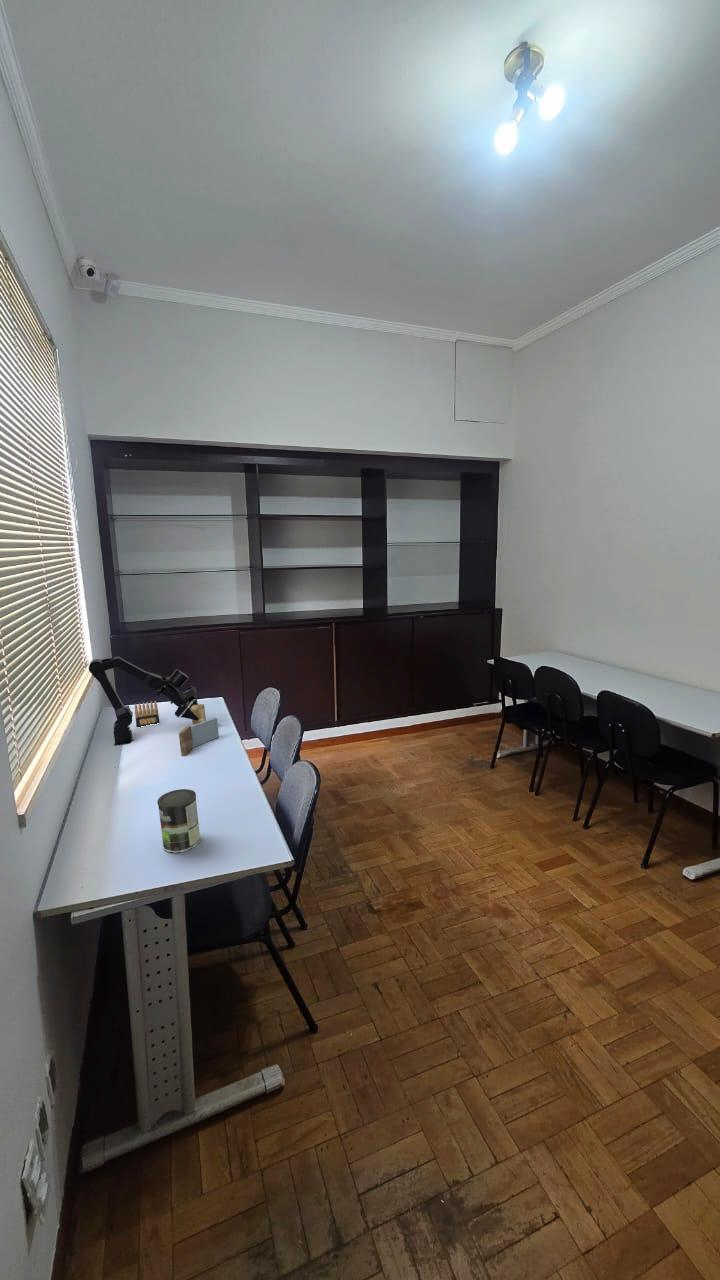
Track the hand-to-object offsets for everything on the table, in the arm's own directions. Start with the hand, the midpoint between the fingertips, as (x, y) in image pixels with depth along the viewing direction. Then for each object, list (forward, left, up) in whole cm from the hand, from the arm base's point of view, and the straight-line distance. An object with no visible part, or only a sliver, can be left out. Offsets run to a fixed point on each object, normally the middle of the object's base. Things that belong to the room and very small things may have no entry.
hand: (200, 716), depth 237 cm
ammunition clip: (-26, +20, -7) cm, 33 cm away
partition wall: (-5, -24, -7) cm, 26 cm away
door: (+2, -15, -7) cm, 17 cm away
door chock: (-1, 0, -7) cm, 7 cm away
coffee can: (-3, -95, -7) cm, 96 cm away
